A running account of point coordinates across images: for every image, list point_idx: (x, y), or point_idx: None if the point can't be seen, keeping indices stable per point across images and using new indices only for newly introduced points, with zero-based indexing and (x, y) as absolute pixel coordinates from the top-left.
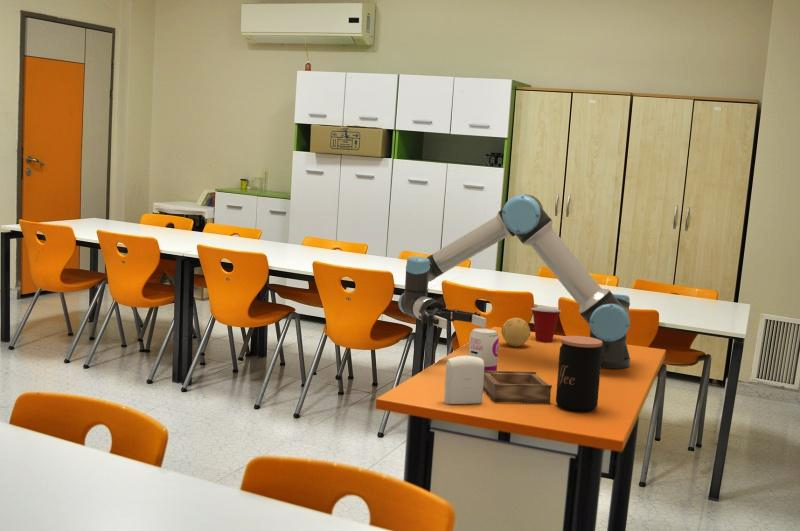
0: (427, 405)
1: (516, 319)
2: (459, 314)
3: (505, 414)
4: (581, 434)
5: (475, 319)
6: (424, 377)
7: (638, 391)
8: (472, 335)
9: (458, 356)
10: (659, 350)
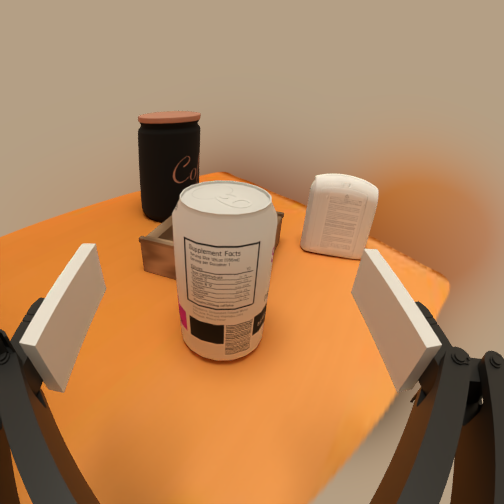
0: (388, 253)
1: None
2: (68, 478)
3: (289, 215)
4: (242, 180)
5: (65, 329)
6: (370, 400)
7: (21, 231)
8: (276, 213)
9: (360, 180)
10: None
